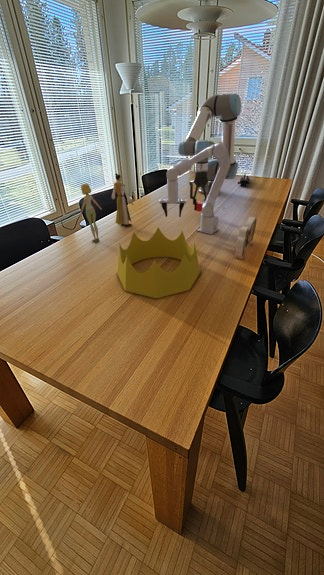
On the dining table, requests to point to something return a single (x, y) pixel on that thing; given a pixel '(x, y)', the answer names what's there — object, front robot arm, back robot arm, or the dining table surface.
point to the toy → (244, 181)
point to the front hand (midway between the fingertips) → (173, 216)
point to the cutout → (245, 236)
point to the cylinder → (199, 206)
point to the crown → (155, 278)
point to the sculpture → (90, 209)
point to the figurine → (121, 203)
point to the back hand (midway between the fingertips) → (199, 209)
